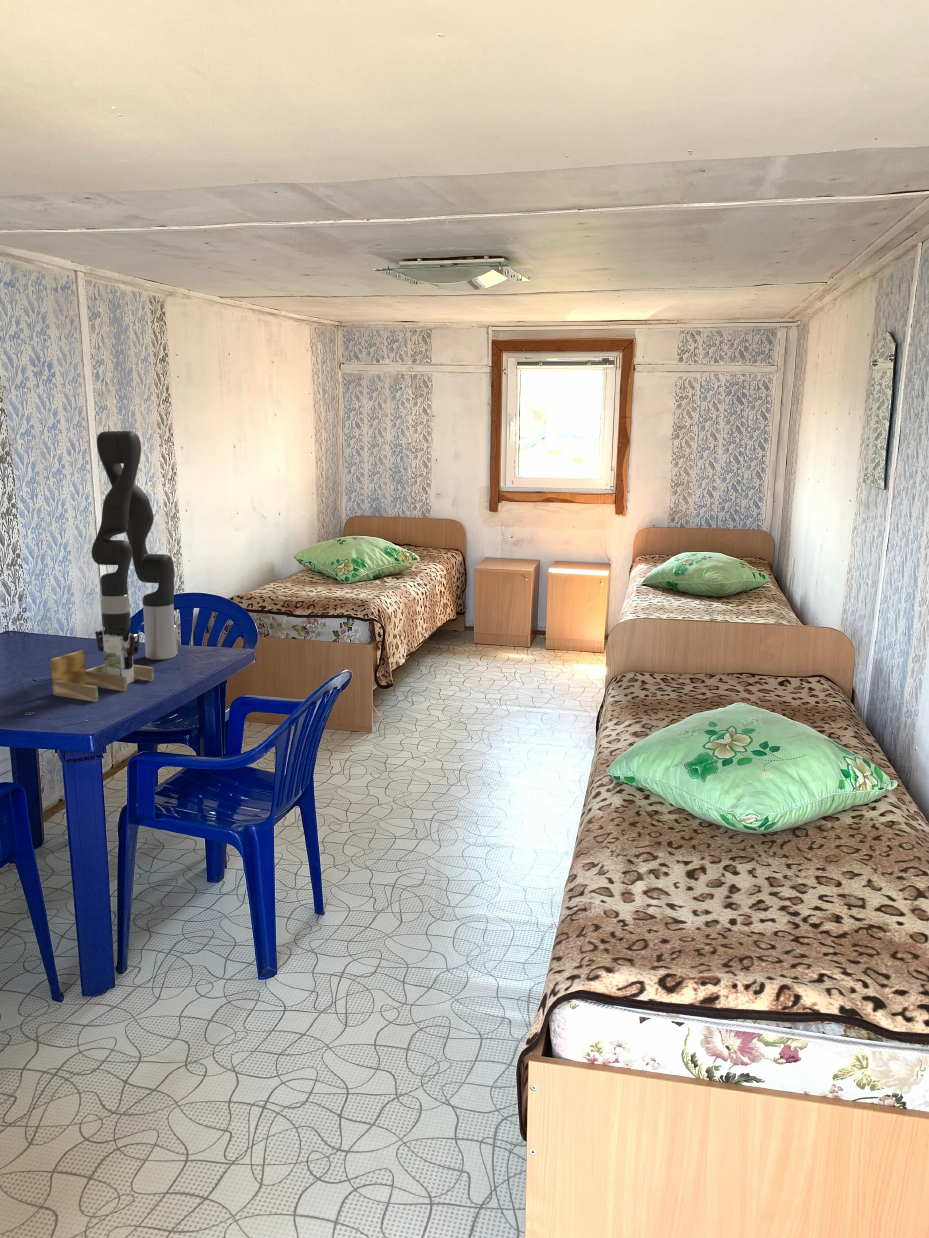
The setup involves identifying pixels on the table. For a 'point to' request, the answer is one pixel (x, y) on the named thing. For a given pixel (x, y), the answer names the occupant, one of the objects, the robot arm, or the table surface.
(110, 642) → the syrup box
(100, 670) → the wooden rack
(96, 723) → the table surface
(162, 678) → the table surface
